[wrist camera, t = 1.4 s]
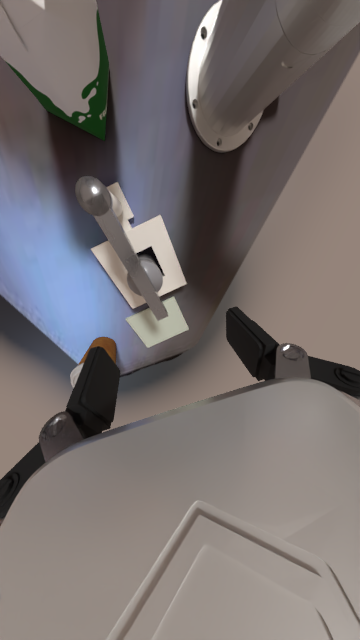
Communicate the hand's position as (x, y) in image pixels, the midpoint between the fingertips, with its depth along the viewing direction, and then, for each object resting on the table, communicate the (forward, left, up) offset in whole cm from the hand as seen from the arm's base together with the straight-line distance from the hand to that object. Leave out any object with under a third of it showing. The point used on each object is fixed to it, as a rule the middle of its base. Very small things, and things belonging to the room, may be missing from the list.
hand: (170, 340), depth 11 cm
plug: (+2, 0, -27) cm, 27 cm away
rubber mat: (+6, +16, -27) cm, 32 cm away
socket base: (+2, -3, -27) cm, 27 cm away
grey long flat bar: (+2, -3, -15) cm, 15 cm away
